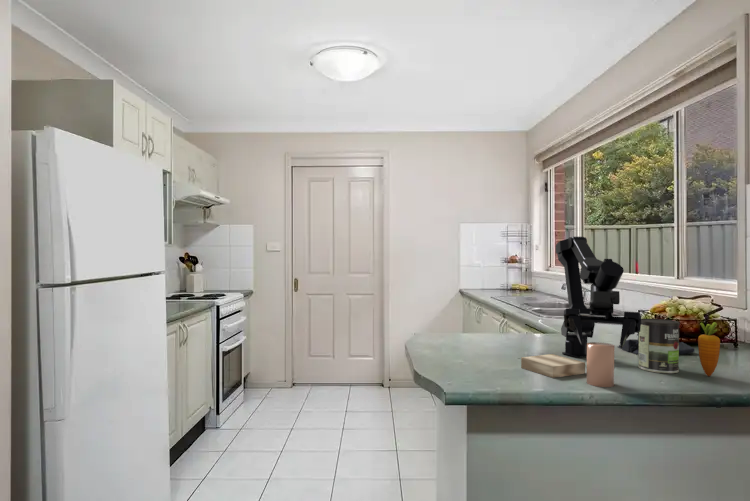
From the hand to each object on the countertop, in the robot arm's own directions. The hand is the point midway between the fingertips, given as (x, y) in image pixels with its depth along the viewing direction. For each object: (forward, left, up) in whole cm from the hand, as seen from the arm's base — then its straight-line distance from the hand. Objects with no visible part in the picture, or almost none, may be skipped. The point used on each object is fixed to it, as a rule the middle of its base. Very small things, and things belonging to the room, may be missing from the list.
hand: (601, 345), depth 125 cm
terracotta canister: (+2, +1, -9) cm, 10 cm away
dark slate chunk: (-52, -20, -10) cm, 56 cm away
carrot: (-32, +8, -10) cm, 35 cm away
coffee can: (-27, -3, -10) cm, 29 cm away
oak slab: (+3, -14, -9) cm, 17 cm away
